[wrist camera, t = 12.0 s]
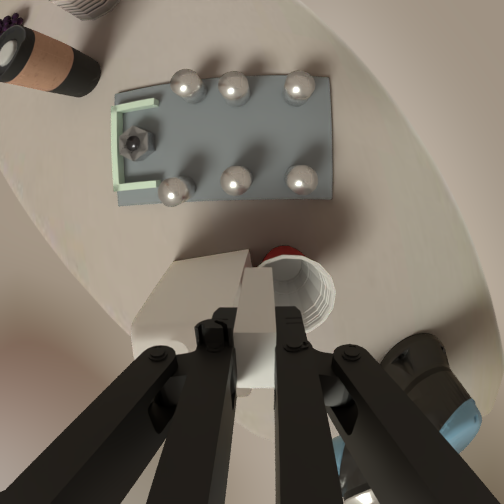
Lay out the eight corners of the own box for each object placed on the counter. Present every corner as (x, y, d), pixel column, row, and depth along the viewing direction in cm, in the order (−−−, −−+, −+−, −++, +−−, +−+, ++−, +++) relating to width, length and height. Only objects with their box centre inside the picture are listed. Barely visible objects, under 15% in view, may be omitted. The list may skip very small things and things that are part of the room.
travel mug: (61, 93, 36) (-21, 77, 17) (80, 54, 34) (5, 23, 15) (88, 103, 37) (2, 85, 18) (109, 63, 35) (32, 24, 16)
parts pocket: (161, 186, 40) (156, 187, 38) (119, 190, 40) (113, 191, 38) (158, 100, 36) (153, 97, 34) (117, 108, 37) (111, 106, 35)
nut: (155, 159, 39) (148, 159, 36) (128, 162, 39) (119, 163, 36) (155, 125, 37) (147, 122, 34) (128, 129, 38) (118, 127, 35)
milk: (191, 324, 48) (141, 448, 23) (173, 261, 44) (88, 364, 19) (261, 316, 46) (258, 451, 22) (248, 249, 43) (229, 360, 18)
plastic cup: (232, 272, 44) (222, 310, 33) (274, 215, 42) (279, 235, 30) (289, 309, 46) (296, 353, 34) (332, 256, 43) (354, 289, 32)
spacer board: (330, 198, 40) (332, 199, 40) (120, 205, 42) (118, 206, 41) (327, 79, 35) (329, 77, 34) (117, 95, 37) (114, 94, 36)
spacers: (310, 197, 40) (317, 203, 34) (172, 201, 41) (158, 207, 35) (307, 77, 35) (313, 64, 29) (169, 84, 36) (155, 73, 30)
